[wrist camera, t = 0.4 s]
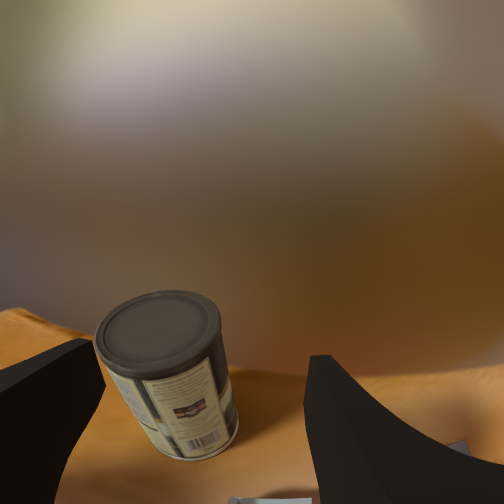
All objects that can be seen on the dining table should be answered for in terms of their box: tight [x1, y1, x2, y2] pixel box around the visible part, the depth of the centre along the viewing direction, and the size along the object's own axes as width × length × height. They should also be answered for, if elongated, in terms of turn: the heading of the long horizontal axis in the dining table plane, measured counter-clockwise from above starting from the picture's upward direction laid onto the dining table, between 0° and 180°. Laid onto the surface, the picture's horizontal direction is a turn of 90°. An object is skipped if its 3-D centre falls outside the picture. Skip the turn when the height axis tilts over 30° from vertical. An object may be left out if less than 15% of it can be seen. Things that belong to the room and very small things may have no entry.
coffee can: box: [94, 290, 239, 461], centre depth 23 cm, size 10×10×14 cm
